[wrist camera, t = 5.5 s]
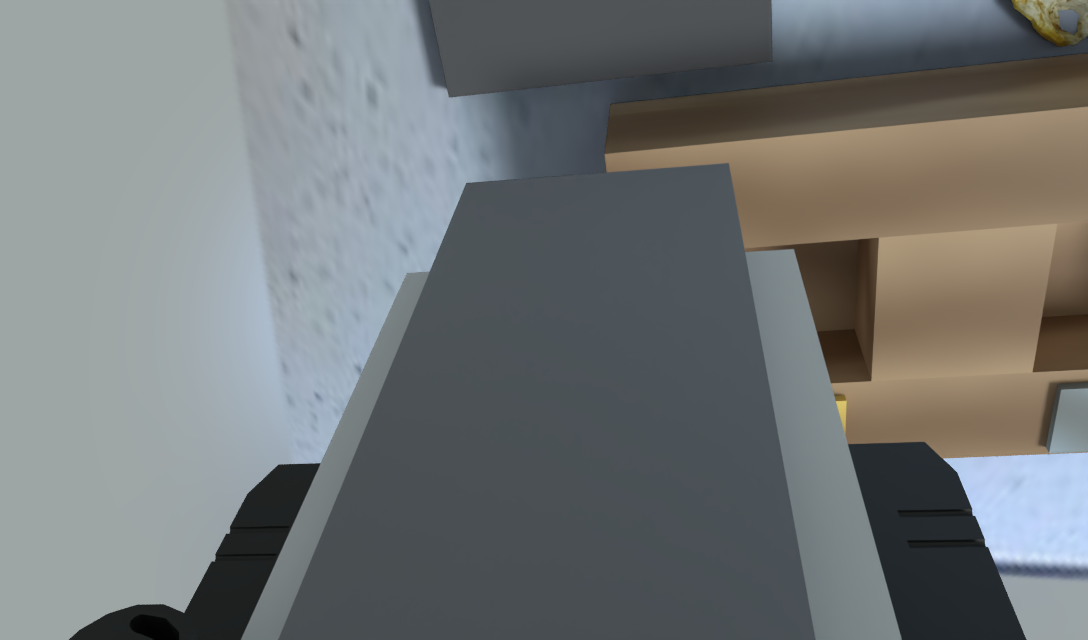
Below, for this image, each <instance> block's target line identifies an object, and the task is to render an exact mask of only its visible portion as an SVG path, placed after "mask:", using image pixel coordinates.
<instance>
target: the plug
mask: <svg viewBox="0 0 1088 640" xmlns="http://www.w3.org/2000/svg"><path fill="white" fill-rule="evenodd" d="M278 640H816V639H815V634H814V628H813V623H812V617H811V612H810V606H809V601H808V595H807V590H806V584H805V579H804V573H803V568H802V562H801V557H800V551H799V546H798V540H797V535H796V529H795V524H794V518H793V513H792V507H791V502H790V496H789V491H788V485H787V480H786V474H785V469H784V463H783V458H782V452H781V447H780V441H779V436H778V430H777V425H776V419H775V414H774V408H773V403H772V397H771V392H770V386H769V381H768V375H767V370H766V364H765V359H764V353H763V348H762V342H761V337H760V331H759V326H758V320H757V315H756V310H755V304H754V299H753V293H752V288H751V282H750V277H749V271H748V266H747V260H746V255H745V249H744V244H743V238H742V233H741V227H740V222H739V216H738V211H737V205H736V200H735V194H734V189H733V183H732V178H731V172H730V167H729V163H723V164H710V165H697V166H684V167H671V168H658V169H644V170H631V171H618V172H605V173H592V174H579V175H566V176H553V177H540V178H527V179H514V180H501V181H487V182H474V183H466V185H465V188H464V190H463V193H462V195H461V197H460V200H459V202H458V205H457V207H456V210H455V212H454V214H453V217H452V219H451V222H450V224H449V226H448V229H447V231H446V234H445V236H444V239H443V241H442V243H441V246H440V248H439V251H438V253H437V256H436V258H435V260H434V263H433V265H432V268H431V270H430V273H429V275H428V277H427V280H426V282H425V285H424V287H423V290H422V292H421V294H420V297H419V299H418V302H417V304H416V307H415V309H414V311H413V314H412V316H411V319H410V321H409V324H408V326H407V328H406V331H405V333H404V336H403V338H402V341H401V343H400V345H399V348H398V350H397V353H396V355H395V358H394V360H393V362H392V365H391V367H390V370H389V372H388V374H387V377H386V379H385V382H384V384H383V387H382V389H381V391H380V394H379V396H378V399H377V401H376V404H375V406H374V408H373V411H372V413H371V416H370V418H369V421H368V423H367V425H366V428H365V430H364V433H363V435H362V438H361V440H360V442H359V445H358V447H357V450H356V452H355V455H354V457H353V459H352V462H351V464H350V467H349V469H348V472H347V474H346V476H345V479H344V481H343V484H342V486H341V489H340V491H339V493H338V496H337V498H336V501H335V503H334V505H333V508H332V510H331V513H330V515H329V518H328V520H327V522H326V525H325V527H324V530H323V532H322V535H321V537H320V539H319V542H318V544H317V547H316V549H315V552H314V554H313V556H312V559H311V561H310V564H309V566H308V569H307V571H306V573H305V576H304V578H303V581H302V583H301V586H300V588H299V590H298V593H297V595H296V598H295V600H294V603H293V605H292V607H291V610H290V612H289V615H288V617H287V620H286V622H285V624H284V627H283V629H282V632H281V634H280V637H279V639H278Z"/></svg>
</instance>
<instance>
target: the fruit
mask: <svg viewBox="0 0 1088 640" xmlns="http://www.w3.org/2000/svg"><path fill="white" fill-rule="evenodd" d="M1012 3H1013V6H1014V9H1016V10H1018V11H1019V12H1020V13H1021V14H1023V15H1024V16H1025V17H1026V18H1027V19H1028V20H1029V21H1031V22H1032V27H1033V28H1034V29H1035V30H1036V31H1037V32H1038V34H1040V35H1041V36H1042V37H1043V38H1044V39H1046V40H1049V41H1051V42H1053V43H1054V44H1055V45H1057V46H1059V47H1062V46H1068V45H1071V46H1073V45H1077V43H1079V42H1080V41H1081V40H1082V39H1084V38H1085V37H1087V36H1088V0H1012ZM1069 9H1072V10H1074V11H1075V12H1076V13H1078V14H1079V15H1080V18H1079V20H1078V28H1077V31H1076V33H1075V34H1074V35H1072V34H1071V33H1069V32H1066V31H1064V30H1061V28H1060V20H1059V15H1058V10H1069Z"/></svg>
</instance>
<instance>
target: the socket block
mask: <svg viewBox="0 0 1088 640" xmlns="http://www.w3.org/2000/svg"><path fill="white" fill-rule="evenodd" d="M605 163H606V171H607V172H618V171H631V170H644V169H658V168H671V167H684V166H697V165H710V164H723V163H729V167H730V172H731V178H732V183H733V189H734V194H735V200H736V205H737V211H738V216H739V222H740V227H741V233H742V238H743V244H744V249H745V252H755V251H771V250H787V249H794V252H795V255H796V259H797V263H798V266H799V270H800V273H801V277H802V281H803V284H804V288H805V291H806V295H807V299H808V302H809V306H810V310H811V313H812V317H813V320H814V324H815V328H816V331H817V335H818V338H819V342H820V346H821V349H822V353H823V357H824V360H825V364H826V367H827V371H828V375H829V378H830V382H831V385H832V389H833V393H834V396H835V400H836V404H837V407H838V411H839V414H840V418H841V422H842V425H843V429H844V432H845V436H846V440H847V443H848V444H867V443H899V442H925V443H926V444H927V445H929V446H930V447H931V448H932V449H933V450H934V451H935V452H936V453H937V454H938V455H939V456H940V457H941V458H962V457H987V456H1011V455H1036V454H1060V453H1085V452H1088V53H1084V54H1075V55H1066V56H1056V57H1047V58H1038V59H1028V60H1019V61H1010V62H1000V63H991V64H982V65H972V66H963V67H954V68H944V69H935V70H925V71H916V72H907V73H897V74H888V75H879V76H869V77H860V78H851V79H841V80H832V81H823V82H813V83H804V84H795V85H785V86H776V87H767V88H757V89H748V90H739V91H729V92H720V93H711V94H701V95H692V96H682V97H673V98H664V99H654V100H645V101H636V102H626V103H617V104H610V112H609V120H608V128H607V137H606V145H605Z"/></svg>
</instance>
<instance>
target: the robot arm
mask: <svg viewBox="0 0 1088 640" xmlns="http://www.w3.org/2000/svg"><path fill="white" fill-rule="evenodd" d="M745 255H746V260H747V266H748V271H749V277H750V282H751V288H752V293H753V299H754V304H755V310H756V315H757V320H758V326H759V331H760V337H761V342H762V348H763V353H764V359H765V364H766V370H767V375H768V381H769V386H770V392H771V397H772V403H773V408H774V414H775V419H776V425H777V430H778V436H779V441H780V447H781V452H782V458H783V463H784V469H785V474H786V480H787V485H788V491H789V496H790V502H791V507H792V513H793V518H794V524H795V529H796V535H797V540H798V546H799V551H800V557H801V562H802V568H803V573H804V579H805V584H806V590H807V595H808V601H809V606H810V612H811V617H812V623H813V628H814V634H815V639H816V640H1026V638H1025V635H1024V633H1023V630H1022V628H1021V626H1020V623H1019V621H1018V619H1017V616H1016V614H1015V611H1014V609H1013V606H1012V604H1011V602H1010V599H1009V597H1008V594H1007V592H1006V590H1005V587H1004V585H1003V582H1002V580H1001V577H1000V575H999V573H998V570H997V568H996V565H995V563H994V560H993V558H992V556H991V553H990V551H989V548H988V547H986V546H985V539H984V536H983V534H982V532H981V529H980V527H979V524H978V522H977V519H976V517H975V516H973V515H972V507H971V505H970V503H969V500H968V498H967V495H966V493H965V490H964V488H963V486H962V483H961V481H960V478H959V476H958V474H957V472H956V471H955V470H954V469H953V468H952V467H951V466H950V465H949V464H948V463H947V462H945V461H944V460H943V459H942V458H941V457H940V456H939V455H938V454H937V453H936V452H935V451H934V450H933V449H932V448H931V447H930V446H929V445H927V444H926V443H925V442H899V443H867V444H848V443H847V440H846V436H845V432H844V429H843V425H842V422H841V418H840V414H839V411H838V407H837V404H836V400H835V396H834V393H833V389H832V385H831V382H830V378H829V375H828V371H827V367H826V364H825V360H824V357H823V353H822V349H821V346H820V342H819V338H818V335H817V331H816V328H815V324H814V320H813V317H812V313H811V310H810V306H809V302H808V299H807V295H806V291H805V288H804V284H803V281H802V277H801V273H800V270H799V266H798V263H797V259H796V255H795V252H794V249H787V250H771V251H755V252H745ZM429 273H430V272H418V273H407V274H406V277H405V279H404V281H403V283H402V285H401V288H400V290H399V292H398V294H397V296H396V299H395V301H394V303H393V305H392V307H391V310H390V312H389V314H388V316H387V318H386V321H385V323H384V325H383V327H382V330H381V332H380V334H379V336H378V338H377V341H376V343H375V345H374V347H373V349H372V352H371V354H370V356H369V358H368V360H367V363H366V365H365V367H364V369H363V371H362V374H361V376H360V378H359V380H358V382H357V385H356V387H355V389H354V391H353V394H352V396H351V398H350V400H349V402H348V405H347V407H346V409H345V411H344V413H343V416H342V418H341V420H340V422H339V424H338V427H337V429H336V431H335V433H334V435H333V438H332V440H331V442H330V444H329V446H328V449H327V451H326V453H325V455H324V458H323V460H322V462H321V463H316V464H287V465H285V464H284V465H278V466H277V467H276V468H275V469H273V470H272V471H271V472H270V473H269V474H268V475H267V476H266V477H265V478H264V479H263V480H262V481H261V482H260V483H259V484H258V485H256V486H255V487H254V488H253V489H252V490H251V491H250V492H249V493H248V494H247V496H246V498H245V500H244V502H243V503H242V505H241V507H240V509H239V511H238V513H237V515H236V517H235V519H234V520H233V522H232V524H231V526H230V534H226V535H225V537H224V539H223V541H222V543H221V545H220V547H219V549H218V550H217V552H216V554H215V555H216V560H215V562H211V564H210V566H209V567H208V569H207V571H206V573H205V575H204V577H203V579H202V581H201V583H200V584H199V586H198V588H197V590H196V592H195V594H194V596H193V598H192V599H191V601H190V603H189V605H188V607H187V609H186V611H185V613H183V612H181V611H178V610H176V609H173V608H171V607H169V606H166V605H163V604H162V605H161V604H159V605H157V604H156V605H135V606H132V607H128V608H125V609H122V610H119V611H115V612H112V613H109V614H107V615H105V616H103V617H101V618H100V619H98V620H96V621H95V622H93V623H91V624H89V625H88V626H86V627H84V628H82V629H81V630H79V631H78V632H77V633H76V634H75V635H74V636H73V637H72V638H70V639H69V640H278V639H279V637H280V634H281V632H282V629H283V627H284V624H285V622H286V620H287V617H288V615H289V612H290V610H291V607H292V605H293V603H294V600H295V598H296V595H297V593H298V590H299V588H300V586H301V583H302V581H303V578H304V576H305V573H306V571H307V569H308V566H309V564H310V561H311V559H312V556H313V554H314V552H315V549H316V547H317V544H318V542H319V539H320V537H321V535H322V532H323V530H324V527H325V525H326V522H327V520H328V518H329V515H330V513H331V510H332V508H333V505H334V503H335V501H336V498H337V496H338V493H339V491H340V489H341V486H342V484H343V481H344V479H345V476H346V474H347V472H348V469H349V467H350V464H351V462H352V459H353V457H354V455H355V452H356V450H357V447H358V445H359V442H360V440H361V438H362V435H363V433H364V430H365V428H366V425H367V423H368V421H369V418H370V416H371V413H372V411H373V408H374V406H375V404H376V401H377V399H378V396H379V394H380V391H381V389H382V387H383V384H384V382H385V379H386V377H387V374H388V372H389V370H390V367H391V365H392V362H393V360H394V358H395V355H396V353H397V350H398V348H399V345H400V343H401V341H402V338H403V336H404V333H405V331H406V328H407V326H408V324H409V321H410V319H411V316H412V314H413V311H414V309H415V307H416V304H417V302H418V299H419V297H420V294H421V292H422V290H423V287H424V285H425V282H426V280H427V277H428V275H429Z"/></svg>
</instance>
